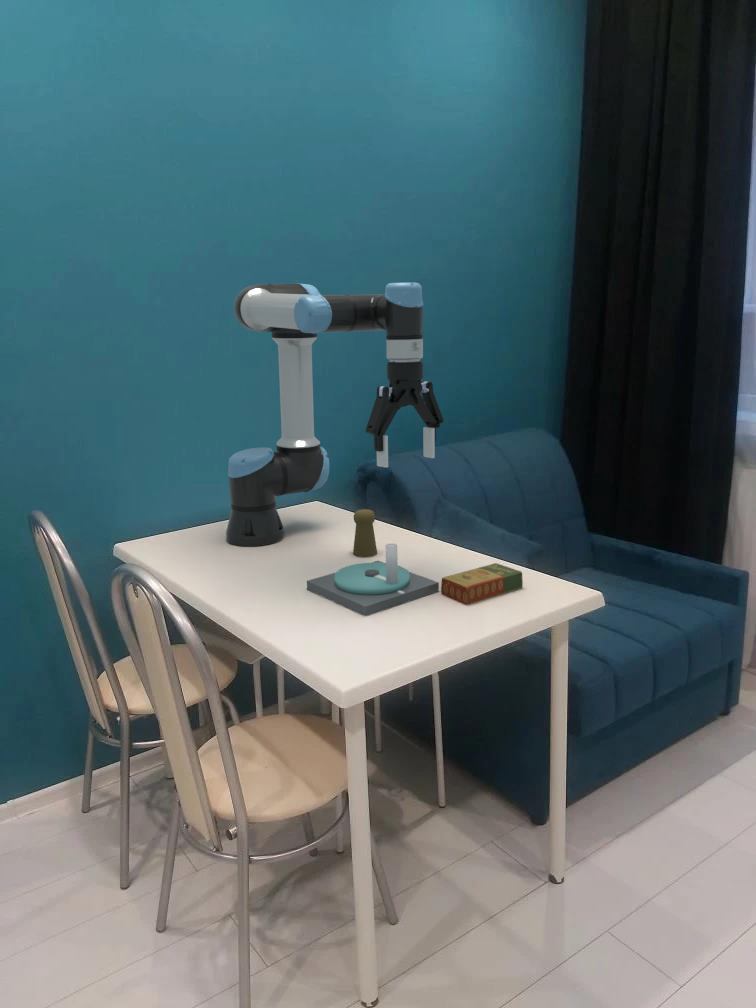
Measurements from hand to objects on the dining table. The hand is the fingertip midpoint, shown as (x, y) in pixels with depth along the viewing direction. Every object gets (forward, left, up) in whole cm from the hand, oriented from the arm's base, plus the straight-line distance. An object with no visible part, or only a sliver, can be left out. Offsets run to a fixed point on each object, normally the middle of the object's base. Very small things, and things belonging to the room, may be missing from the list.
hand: (406, 462), depth 166 cm
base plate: (-1, -10, -27) cm, 28 cm away
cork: (-22, +5, -27) cm, 35 cm away
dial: (-1, -10, -25) cm, 26 cm away
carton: (+15, +7, -27) cm, 32 cm away
